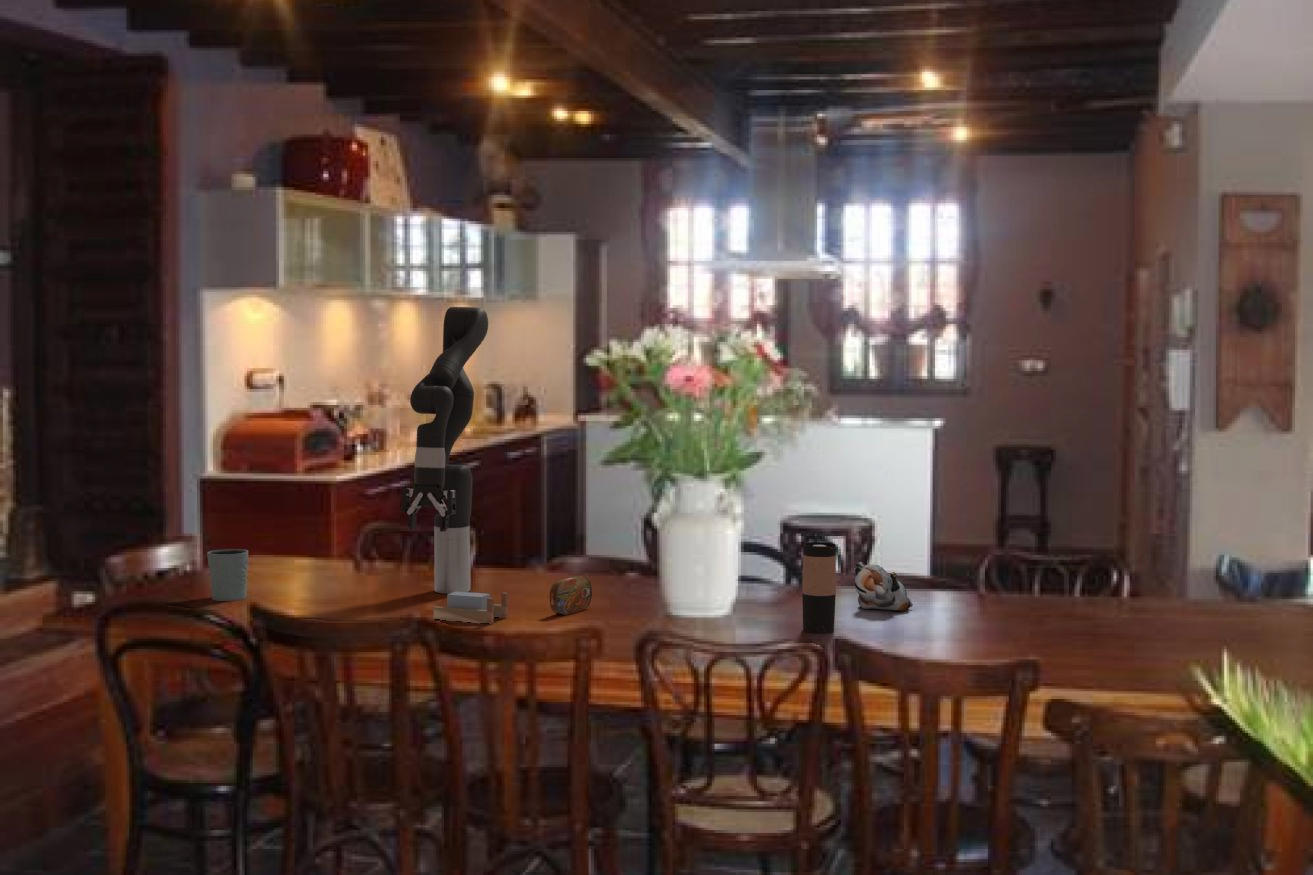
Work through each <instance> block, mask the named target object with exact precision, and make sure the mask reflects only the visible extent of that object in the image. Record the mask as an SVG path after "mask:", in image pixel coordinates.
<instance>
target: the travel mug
mask: <svg viewBox="0 0 1313 875" xmlns="http://www.w3.org/2000/svg"><path fill="white" fill-rule="evenodd" d="M802 546H803V549H802V551H803V552H802V595H801V598H802V600H801V601H802V605H801V606H802V631H803V632H807V633H810V632H812V633H811V634H829V633H828V632H830V633H834V631H835V616H836V615H835V614H836V595H837V594H836V593H837V592H836V591H837V590H836V589H837V586H836V585H837V582H836V581H837V575H836V574H837V573H836V572H837V571H836V570H837V558H836V557H837V545H836V544H835V543H834V542H824V541H808V542H804V543H803V544H802Z"/></svg>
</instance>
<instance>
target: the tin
mask: <svg viewBox="0 0 1313 875" xmlns="http://www.w3.org/2000/svg"><path fill="white" fill-rule="evenodd" d="M592 588H593V587H592V584H591V581H590V579H589V578H587V577H586V576H583V575H581V576H576V575H575V576H571V577H568V578H565V579H560V580H557V581H555V582H554V583H553V584H552V585H551V587H550V590H549V606H550V608H551V611H552V612H553V613H554V614H556V615H563V616H568V615H571V614H574V613H578V612H581V611H585V610H586V609H588V608H589V606H590V605H591V604H590V603H591V601H592V598H593V589H592Z"/></svg>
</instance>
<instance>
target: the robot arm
mask: <svg viewBox="0 0 1313 875" xmlns="http://www.w3.org/2000/svg"><path fill="white" fill-rule="evenodd" d="M443 318H444V319H443V329H442V330H443V331H442V353H440V354H439V356H437V357H436V359H435V361H434V362H433V365H432V366H431V369H430V371H429V373H428V374H426V376H424V377H423V378H422V379H421V380H420V381H419V382H418V383H417V384H416V385H415V387H414V388H413V389H412V392H411V394H410V397H409V399H410V401H409V403H410V407H411V408H412V410H413V411H414V412H415V413H417V414H421V415H422V414H424V415H425V414H426V415H435V416H434V418H433V420H431V421H429V422H426V423H421V424H419V425H418V426H417V427H416V447H415V455H414V474H413V475H414V477H413V478H414V479H413V483H414V488H410V487H405V488H402V494H401V502H400V503H401V504H400V511H401V512H402V513H406V514H407V528H409V530H410V531H416V530H417V517H418V515H417V512H418V511H419V510H420V509H421V508H422V507H429V508H431V507H432V508H435V510H437V511H438V514H436V515H435V516H434V518H433V519H434V520H433V523H434V524H433V530H434V531H433V532H434V535H433V536H434V540H433V541H434V546H433V547H434V549H433V550H434V552H433V554H434V593H435V592H436V593H439V594H450V593H453V592H456V591H457V592H471V586H472V584H471V537H470V536H471V533H470V532H471V527H470V526H471V522H470V521H471V516H472V500H473V474H472V470H471V469H470V468H469V466H467V465H464V464H449V460H450V456H451V452H452V449H453V447H454V445H455V443H456V441H457V440H458V438H459V437H460V436H461V435H462V433H463V432H464V430H465V429H466V428H467V426H468V425H469V423H470V421H471V419H472V417H473V408H474V398H475V392H474V387H473V384H472V383H471V381H470V379H469V376H468V375H467V373H466V371H465V369H464V366H466V364H467V362H468V361H469V359H470V358H471V357H472V356H473V354H474V353H475V352H476V350H477V349H478V348H479V347H480V345H481V344H482V343H483V341H484V340H485V338H486V336H487V334H488V330H489V317H488V314H487V312H486V310H485V309H484V308H481V307H474V306H471V307H470V306H450V307H449V308H447V310H446V311H445V314H444V317H443ZM413 496H414V500H413V501H412V497H413ZM445 500H446V502H447V504H445V502H444V501H445ZM411 501H412V503H411Z"/></svg>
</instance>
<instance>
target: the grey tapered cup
mask: <svg viewBox="0 0 1313 875" xmlns="http://www.w3.org/2000/svg"><path fill="white" fill-rule="evenodd" d="M206 556H207V563H208V569H209V570H208V571H209V580H210V593H211V599H212V600H213V601H216V602H234V601H235V602H236V601H242V600H245V599H247V597H248V595H247V594H248V585H247V584H248V564H249V550H248V549H241V548H229V549H228V548H227V549H225V548H224V549H215V550H209V551H207V553H206Z"/></svg>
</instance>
